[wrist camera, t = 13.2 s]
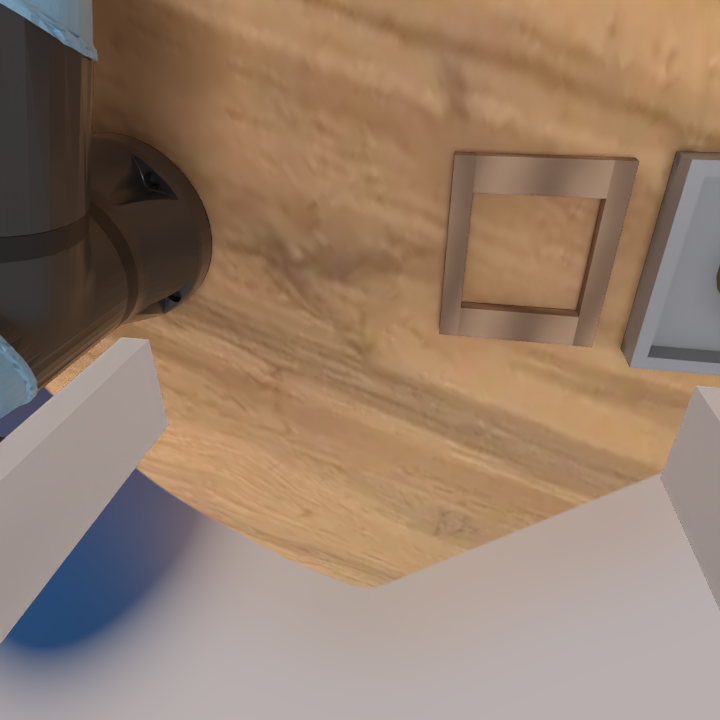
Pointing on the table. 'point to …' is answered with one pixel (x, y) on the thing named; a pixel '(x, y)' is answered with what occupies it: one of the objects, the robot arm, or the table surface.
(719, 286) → the olive bulb peg
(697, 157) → the tray
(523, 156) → the socket block
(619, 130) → the table surface
